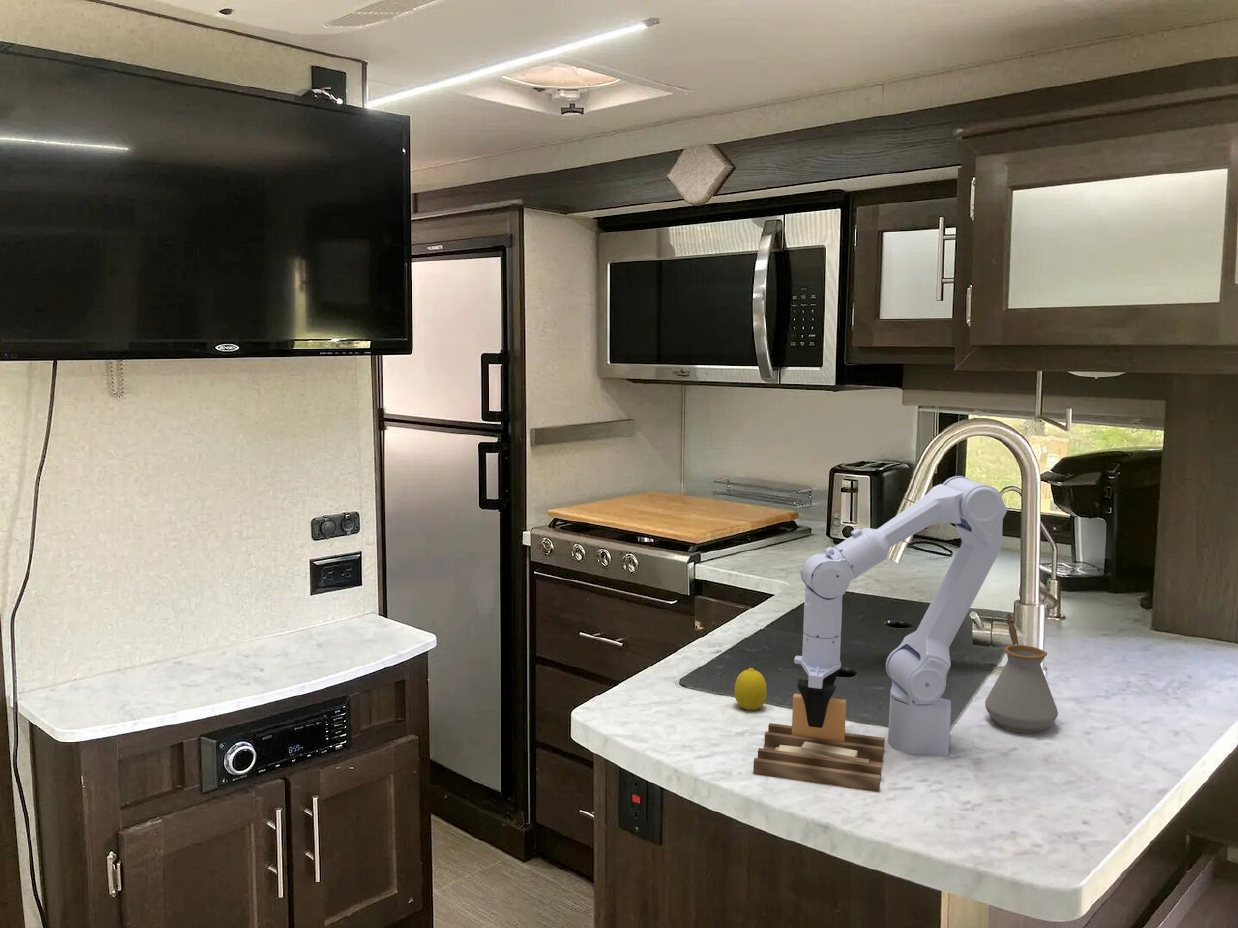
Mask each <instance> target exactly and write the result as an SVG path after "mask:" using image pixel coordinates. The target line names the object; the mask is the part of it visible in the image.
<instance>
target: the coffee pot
mask: <svg viewBox="0 0 1238 928" xmlns="http://www.w3.org/2000/svg"><path fill="white" fill-rule="evenodd" d="M1004 617H1006V620H1007V621H1006V620H1004ZM1013 618H1014V619H1013ZM1001 620H1002V621H1003V622H1004V623H1006V624H1007V625H1008V633H1009V636H1010V639H1011V643H1012V644H1011V645H1007V646H1005V647H1004V649H1003V650H1004V653H1005V654H1007V655H1006V656H1007V662H1006V664H1005V665H1004V667H1003V669H1002V671H1001V672H1000V674H999V676H998V678H997V679H996V681H995V683H994V685H993V686H992V688H991V690H990V691H989V692H988V693H989V694H988V695H987V697H986V699H985V701H984V706H985V709H986V712H987V713H988V715H989V716H990V717H991V718H992V719H993V720H994V721H995V722H996V724H997V725H999V726H1000V727H1001V728H1004V729H1006V730H1008V731H1013V732H1018V733H1023V734H1025V733H1027V734H1033V733H1039V732H1042V731H1044V730H1045V729H1047V728H1048V727H1051V725H1053V724H1054V722H1055V721H1056V719H1057V718H1058V716H1059V711H1058V707H1057V705H1056V703H1055V701H1054V700H1055V699H1054V697H1053V695H1052V692H1051V689H1050V687H1049V684H1048V681H1047V679H1046V678H1047V677H1046V675H1045V673H1044V671H1043V668H1042V665H1041V664H1042V662H1043V660H1044V659H1045V658H1046V657H1047V655H1048V652H1047V651H1045V650H1043V649H1041V648H1038V647H1034V646H1031V645H1030V646H1029V645H1023V644H1019V640H1018V634H1017V633H1018V632H1017V629H1016V626H1015V621H1016V617H1015V616H1014V615H1012V614H1011V613H1007V614H1005V615H1003V616H1002V617H1001Z"/></svg>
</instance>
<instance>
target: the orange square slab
mask: <svg viewBox="0 0 1238 928" xmlns="http://www.w3.org/2000/svg"><path fill="white" fill-rule="evenodd" d="M846 711H847V699H842V698H837V697H836V698H833V697H831V698H830V700H829V703H828V706H827V711H826V716H825V720H824V724H823V727H822V728H818V727H810V726H809V725H808V722H807V716H806V710H805V704H804V701H803V698H802V695H801V693H794V694H793V696H792V714H791V717H792V719H791V726H792V735H795V736H803V737H811V738H818V739H826V740H833V741H841V742H844V741H845V733H846V718H847V717H846V713H847V712H846Z"/></svg>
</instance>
